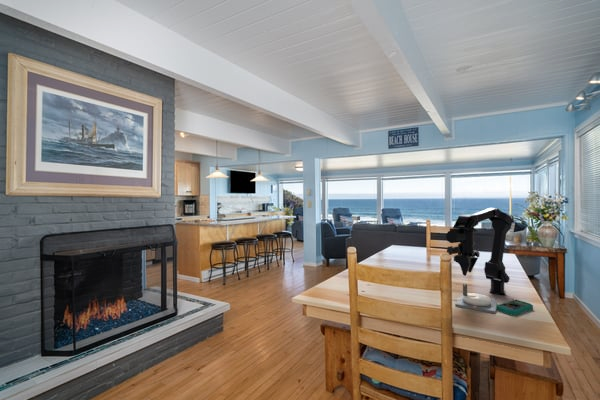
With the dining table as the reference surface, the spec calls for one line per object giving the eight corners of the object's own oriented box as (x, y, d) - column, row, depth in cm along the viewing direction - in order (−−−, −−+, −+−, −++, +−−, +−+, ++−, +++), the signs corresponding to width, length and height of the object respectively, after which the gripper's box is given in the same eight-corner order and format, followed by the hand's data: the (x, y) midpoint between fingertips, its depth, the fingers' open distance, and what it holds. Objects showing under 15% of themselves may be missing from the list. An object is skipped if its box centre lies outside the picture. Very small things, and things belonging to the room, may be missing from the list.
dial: (464, 295, 140) (464, 281, 140) (491, 300, 134) (491, 285, 133) (460, 302, 131) (460, 287, 131) (490, 308, 125) (489, 291, 125)
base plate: (460, 296, 143) (460, 294, 143) (497, 302, 134) (497, 300, 134) (455, 306, 130) (455, 303, 130) (495, 314, 122) (495, 311, 122)
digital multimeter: (495, 311, 126) (495, 304, 126) (514, 304, 132) (514, 298, 132) (514, 317, 119) (514, 310, 119) (533, 310, 126) (533, 303, 126)
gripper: (455, 237, 151) (455, 267, 152) (441, 242, 138) (442, 274, 139) (479, 239, 144) (480, 271, 144) (467, 244, 130) (468, 279, 131)
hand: (467, 273), depth 139 cm, fingers open, 7 cm apart
